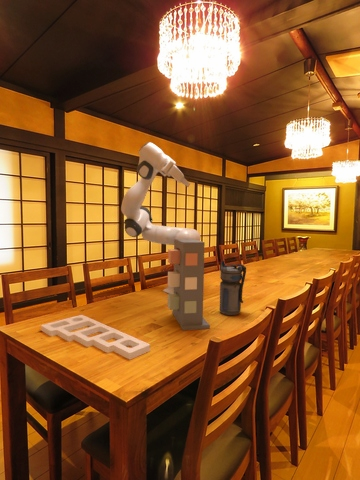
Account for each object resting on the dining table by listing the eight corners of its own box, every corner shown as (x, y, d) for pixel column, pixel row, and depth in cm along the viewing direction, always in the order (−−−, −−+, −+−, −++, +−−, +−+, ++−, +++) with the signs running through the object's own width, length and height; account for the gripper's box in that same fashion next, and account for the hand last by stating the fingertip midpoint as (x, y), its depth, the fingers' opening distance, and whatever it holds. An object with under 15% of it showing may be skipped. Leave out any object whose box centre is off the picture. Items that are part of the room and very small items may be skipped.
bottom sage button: (169, 309, 128) (169, 297, 127) (167, 306, 133) (167, 293, 133) (183, 309, 129) (183, 296, 129) (180, 305, 135) (180, 293, 134)
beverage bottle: (239, 318, 136) (241, 265, 134) (214, 312, 144) (215, 262, 142) (248, 313, 144) (250, 262, 142) (224, 308, 152) (225, 259, 150)
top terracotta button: (170, 264, 126) (170, 250, 126) (168, 262, 132) (168, 249, 131) (184, 263, 128) (184, 250, 127) (181, 261, 133) (181, 249, 133)
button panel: (182, 330, 121) (184, 242, 118) (172, 313, 143) (173, 238, 140) (209, 328, 124) (211, 242, 121) (195, 311, 145) (197, 238, 142)
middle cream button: (170, 287, 127) (170, 274, 127) (167, 284, 132) (167, 271, 132) (183, 286, 128) (183, 273, 128) (180, 283, 134) (181, 271, 133)
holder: (150, 352, 103) (150, 344, 102) (106, 372, 89) (106, 363, 89) (81, 320, 132) (81, 314, 132) (40, 331, 119) (40, 325, 119)
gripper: (165, 174, 158) (184, 191, 159) (162, 170, 138) (185, 190, 139) (172, 164, 157) (192, 181, 159) (171, 160, 137) (193, 179, 138)
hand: (189, 185), depth 149 cm, fingers open, 8 cm apart
